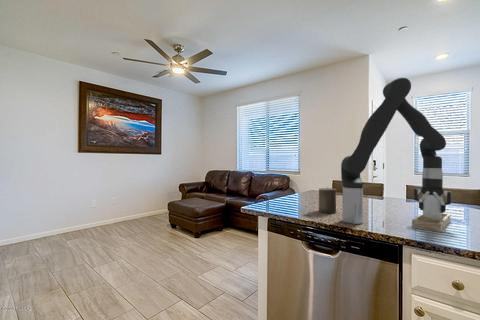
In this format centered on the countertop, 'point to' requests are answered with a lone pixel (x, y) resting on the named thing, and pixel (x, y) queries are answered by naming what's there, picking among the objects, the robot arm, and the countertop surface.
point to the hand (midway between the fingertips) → (431, 211)
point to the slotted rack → (431, 223)
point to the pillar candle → (327, 200)
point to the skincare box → (432, 207)
